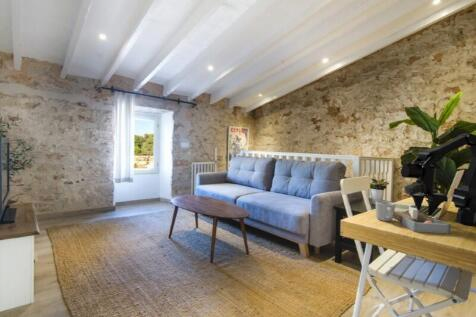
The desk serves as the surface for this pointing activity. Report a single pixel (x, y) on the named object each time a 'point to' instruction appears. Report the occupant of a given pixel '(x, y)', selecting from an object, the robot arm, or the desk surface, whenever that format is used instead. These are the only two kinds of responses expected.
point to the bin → (427, 226)
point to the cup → (385, 210)
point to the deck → (420, 217)
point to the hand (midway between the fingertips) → (423, 212)
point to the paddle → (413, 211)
